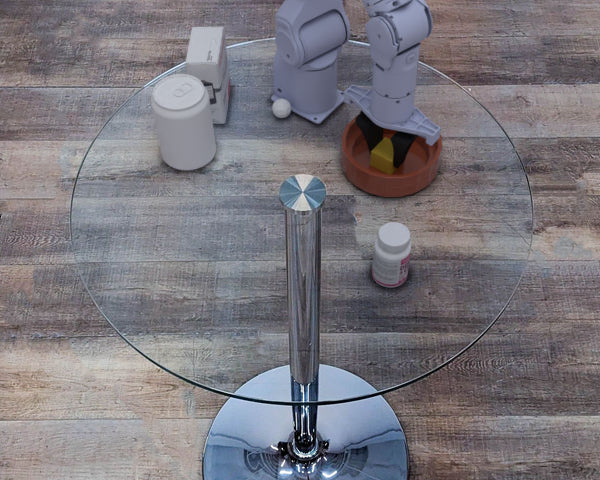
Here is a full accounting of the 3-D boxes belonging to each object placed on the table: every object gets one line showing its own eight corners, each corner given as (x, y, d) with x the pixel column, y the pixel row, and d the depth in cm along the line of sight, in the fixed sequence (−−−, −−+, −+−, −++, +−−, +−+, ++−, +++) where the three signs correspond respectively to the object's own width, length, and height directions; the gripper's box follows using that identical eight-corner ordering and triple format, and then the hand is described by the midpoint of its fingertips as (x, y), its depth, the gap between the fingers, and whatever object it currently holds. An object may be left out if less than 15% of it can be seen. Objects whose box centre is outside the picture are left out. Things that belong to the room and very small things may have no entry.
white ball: (293, 111, 134) (293, 96, 132) (287, 124, 133) (287, 109, 130) (276, 107, 135) (275, 92, 132) (270, 120, 133) (269, 105, 131)
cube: (370, 164, 126) (370, 151, 124) (384, 150, 128) (385, 136, 126) (390, 175, 125) (391, 162, 123) (404, 161, 127) (406, 147, 124)
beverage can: (150, 155, 129) (136, 92, 120) (190, 126, 133) (180, 63, 123) (187, 181, 126) (176, 120, 116) (227, 151, 129) (220, 89, 120)
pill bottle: (405, 291, 114) (410, 251, 107) (369, 285, 115) (372, 245, 108) (409, 263, 117) (415, 222, 110) (374, 257, 117) (378, 216, 111)
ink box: (200, 86, 138) (191, 24, 128) (231, 86, 138) (224, 24, 128) (193, 124, 133) (183, 62, 123) (226, 124, 133) (218, 63, 123)
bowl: (321, 170, 127) (321, 148, 123) (377, 116, 133) (378, 93, 130) (403, 215, 122) (405, 193, 118) (457, 156, 128) (461, 133, 124)
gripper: (457, 89, 114) (445, 162, 125) (366, 46, 119) (362, 120, 130) (428, 119, 110) (418, 192, 121) (335, 74, 116) (334, 148, 127)
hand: (387, 157), depth 125 cm, fingers closed on cube, 3 cm apart
